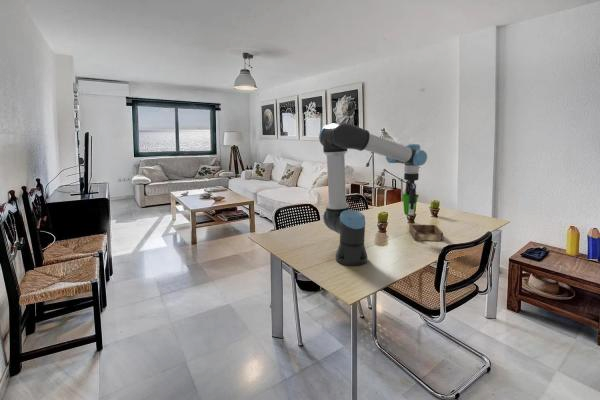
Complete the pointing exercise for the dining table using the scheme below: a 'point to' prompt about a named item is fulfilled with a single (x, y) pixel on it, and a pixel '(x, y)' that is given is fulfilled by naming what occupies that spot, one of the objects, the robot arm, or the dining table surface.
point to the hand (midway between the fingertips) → (409, 212)
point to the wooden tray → (425, 232)
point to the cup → (406, 204)
